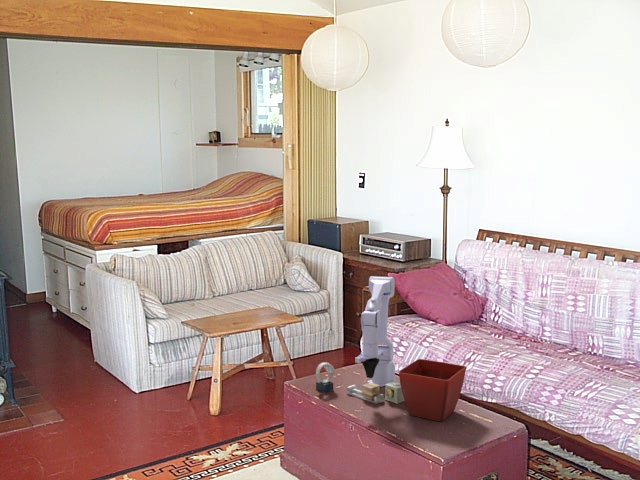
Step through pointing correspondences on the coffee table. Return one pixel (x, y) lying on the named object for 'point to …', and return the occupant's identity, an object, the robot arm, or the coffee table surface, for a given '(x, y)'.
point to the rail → (357, 393)
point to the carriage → (370, 390)
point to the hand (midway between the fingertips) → (369, 377)
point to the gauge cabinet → (397, 392)
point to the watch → (324, 384)
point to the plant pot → (431, 388)
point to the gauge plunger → (389, 393)
